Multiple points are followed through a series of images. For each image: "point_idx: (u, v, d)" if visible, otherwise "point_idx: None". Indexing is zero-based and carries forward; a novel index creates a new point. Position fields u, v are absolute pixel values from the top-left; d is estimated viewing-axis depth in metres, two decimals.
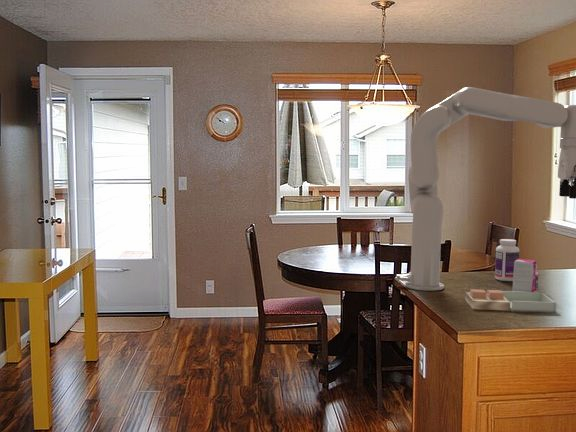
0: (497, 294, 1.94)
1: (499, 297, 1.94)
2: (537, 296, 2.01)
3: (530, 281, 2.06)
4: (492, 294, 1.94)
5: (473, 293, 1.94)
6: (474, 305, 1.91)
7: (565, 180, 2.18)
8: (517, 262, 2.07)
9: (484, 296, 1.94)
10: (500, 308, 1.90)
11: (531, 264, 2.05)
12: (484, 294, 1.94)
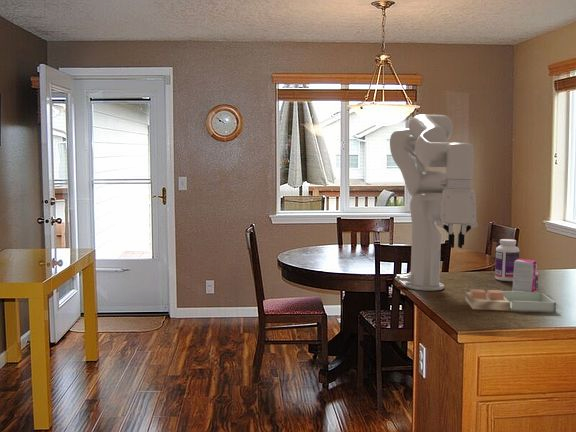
0: (497, 294, 1.94)
1: (499, 297, 1.94)
2: (537, 296, 2.01)
3: (530, 281, 2.06)
4: (492, 294, 1.94)
5: (473, 293, 1.94)
6: (474, 305, 1.91)
7: None
8: (517, 262, 2.07)
9: (484, 296, 1.94)
10: (500, 308, 1.90)
11: (531, 264, 2.05)
12: (484, 294, 1.94)
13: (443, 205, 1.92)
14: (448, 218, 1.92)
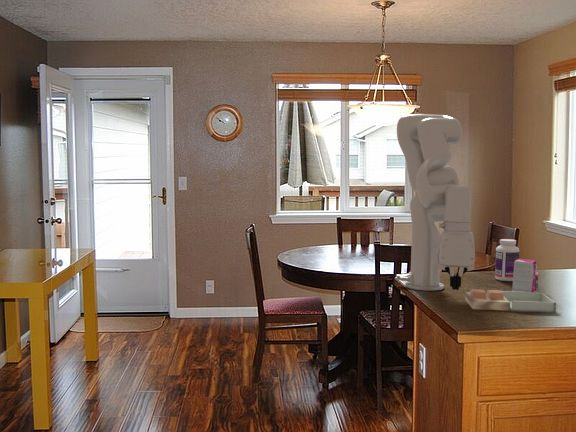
0: (497, 294, 1.94)
1: (499, 297, 1.94)
2: (537, 296, 2.01)
3: (530, 281, 2.06)
4: (492, 294, 1.94)
5: (473, 293, 1.94)
6: (474, 305, 1.91)
7: None
8: (517, 262, 2.07)
9: (484, 296, 1.94)
10: (500, 308, 1.90)
11: (531, 264, 2.05)
12: (484, 294, 1.94)
13: (442, 247, 1.93)
14: (447, 260, 1.93)
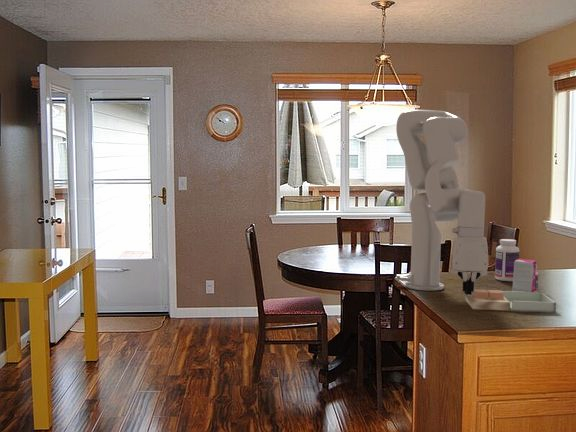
0: (497, 294, 1.94)
1: (499, 297, 1.94)
2: (537, 296, 2.01)
3: (530, 281, 2.06)
4: (492, 294, 1.94)
5: (475, 293, 1.94)
6: (474, 305, 1.91)
7: None
8: (517, 262, 2.07)
9: (486, 296, 1.94)
10: (500, 308, 1.90)
11: (531, 264, 2.05)
12: (486, 294, 1.94)
13: (455, 253, 1.93)
14: (460, 266, 1.93)
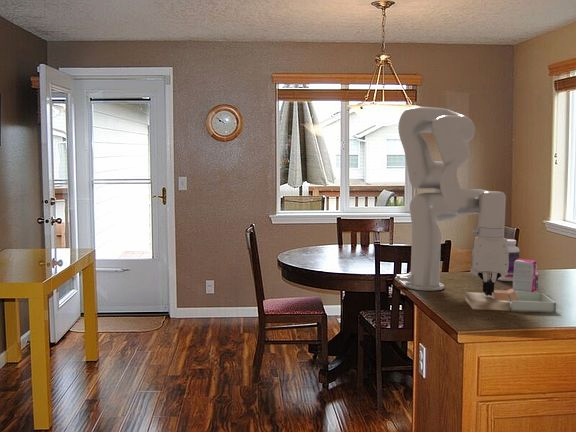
0: (516, 298, 1.93)
1: None
2: (537, 296, 2.01)
3: (530, 281, 2.06)
4: (514, 294, 1.93)
5: (495, 294, 1.94)
6: (474, 305, 1.91)
7: None
8: (517, 262, 2.07)
9: (506, 297, 1.93)
10: (500, 308, 1.90)
11: (531, 264, 2.05)
12: (506, 295, 1.93)
13: (475, 253, 1.93)
14: (480, 266, 1.93)
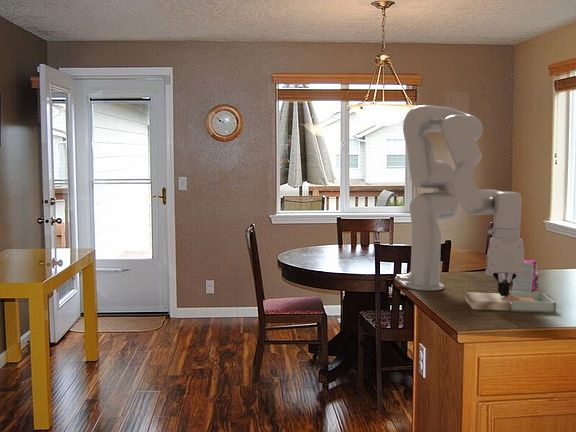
0: None
1: None
2: (537, 296, 2.01)
3: (530, 281, 2.06)
4: None
5: (510, 295, 1.93)
6: (474, 305, 1.91)
7: None
8: None
9: None
10: (500, 308, 1.90)
11: (531, 264, 2.05)
12: None
13: (491, 254, 1.92)
14: (496, 267, 1.92)
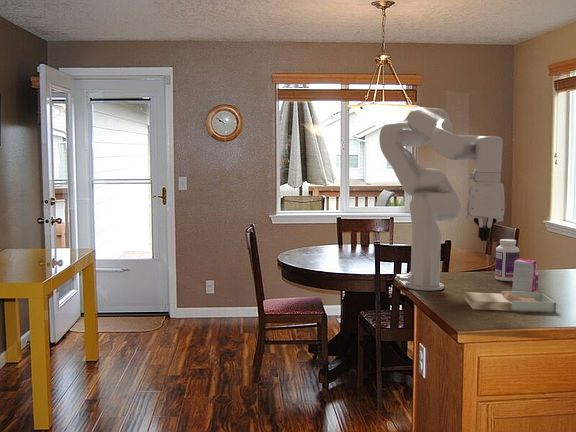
0: None
1: None
2: (537, 296, 2.01)
3: (530, 281, 2.06)
4: None
5: (509, 295, 1.93)
6: (474, 305, 1.91)
7: None
8: (517, 262, 2.07)
9: None
10: (500, 308, 1.90)
11: (531, 264, 2.05)
12: None
13: (471, 198, 1.92)
14: (476, 211, 1.92)
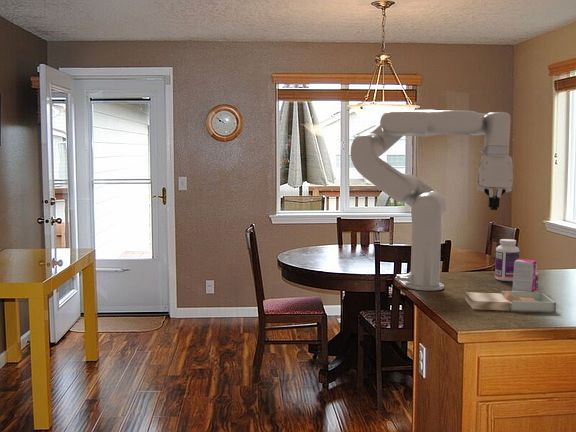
0: None
1: None
2: (537, 296, 2.01)
3: (530, 281, 2.06)
4: None
5: (509, 295, 1.93)
6: (474, 305, 1.91)
7: None
8: (517, 262, 2.07)
9: None
10: (500, 308, 1.90)
11: (531, 264, 2.05)
12: None
13: (482, 170, 2.07)
14: (487, 182, 2.07)
